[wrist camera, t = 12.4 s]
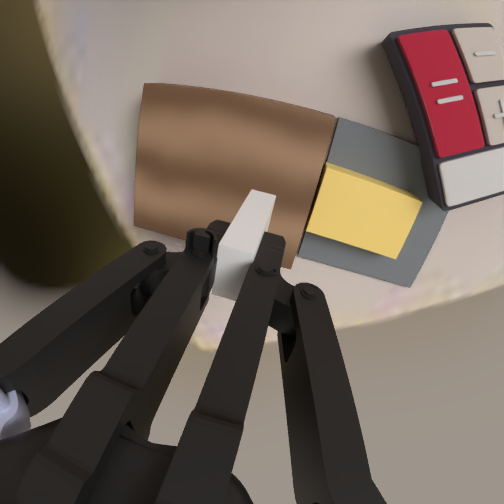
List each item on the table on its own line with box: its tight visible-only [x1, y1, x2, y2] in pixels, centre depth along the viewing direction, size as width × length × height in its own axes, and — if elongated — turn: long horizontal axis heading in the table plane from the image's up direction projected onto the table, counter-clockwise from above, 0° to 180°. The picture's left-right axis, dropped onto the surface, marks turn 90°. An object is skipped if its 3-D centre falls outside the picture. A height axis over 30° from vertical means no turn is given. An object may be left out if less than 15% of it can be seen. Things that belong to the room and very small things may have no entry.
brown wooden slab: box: [134, 83, 336, 269], centre depth 26 cm, size 14×16×3 cm
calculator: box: [382, 23, 504, 211], centre depth 18 cm, size 11×4×15 cm
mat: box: [298, 117, 449, 288], centre depth 26 cm, size 14×13×1 cm
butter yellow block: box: [306, 162, 423, 259], centre depth 25 cm, size 6×9×2 cm, turn 77°
